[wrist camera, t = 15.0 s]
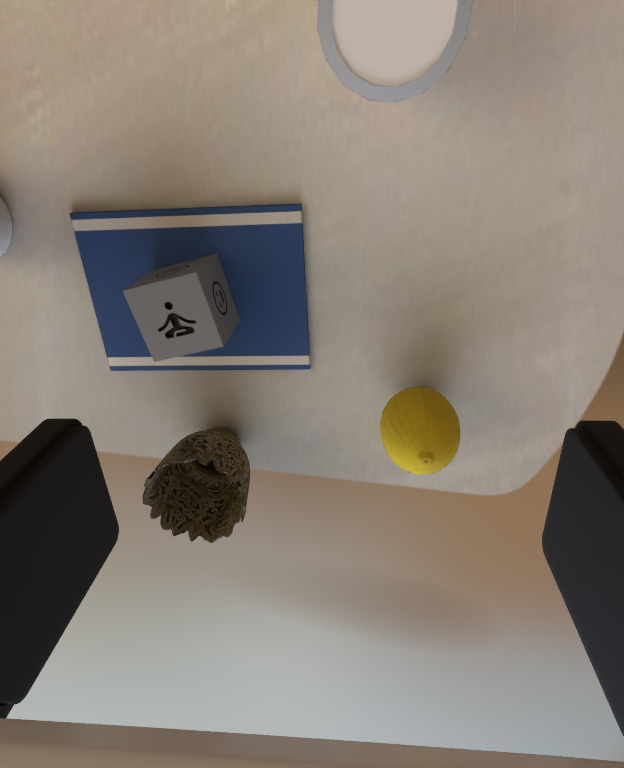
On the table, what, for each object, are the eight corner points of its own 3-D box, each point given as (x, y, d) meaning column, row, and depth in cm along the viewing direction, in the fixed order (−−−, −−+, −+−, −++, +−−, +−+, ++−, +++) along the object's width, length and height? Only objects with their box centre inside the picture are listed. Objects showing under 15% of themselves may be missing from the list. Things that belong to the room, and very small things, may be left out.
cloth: (301, 203, 32) (300, 204, 32) (310, 367, 38) (309, 369, 38) (72, 212, 34) (69, 213, 34) (112, 368, 39) (110, 370, 39)
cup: (229, 490, 44) (204, 559, 37) (162, 442, 42) (123, 505, 35) (281, 441, 41) (265, 505, 34) (212, 387, 40) (180, 443, 32)
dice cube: (178, 334, 37) (154, 361, 33) (152, 270, 35) (122, 290, 31) (240, 320, 36) (223, 346, 32) (217, 253, 34) (196, 272, 30)
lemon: (464, 391, 38) (488, 452, 31) (421, 441, 40) (435, 508, 33) (404, 356, 37) (415, 411, 30) (364, 410, 39) (366, 472, 32)
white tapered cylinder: (467, -16, 26) (500, -60, 20) (420, 123, 30) (437, 121, 24) (345, -56, 26) (341, -113, 20) (311, 88, 29) (299, 78, 23)
